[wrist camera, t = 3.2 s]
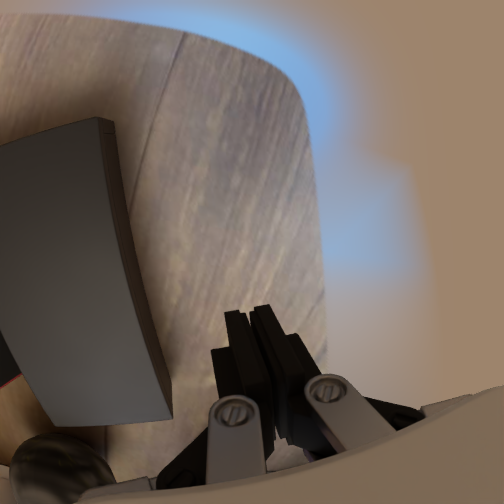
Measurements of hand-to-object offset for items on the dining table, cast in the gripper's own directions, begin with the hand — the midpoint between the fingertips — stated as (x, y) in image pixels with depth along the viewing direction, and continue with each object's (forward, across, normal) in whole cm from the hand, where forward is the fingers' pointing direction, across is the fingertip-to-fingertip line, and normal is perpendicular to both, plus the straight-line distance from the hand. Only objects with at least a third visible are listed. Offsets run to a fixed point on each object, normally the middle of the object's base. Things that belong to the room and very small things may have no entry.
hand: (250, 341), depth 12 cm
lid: (+8, +10, 0) cm, 13 cm away
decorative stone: (+8, +17, +16) cm, 25 cm away
